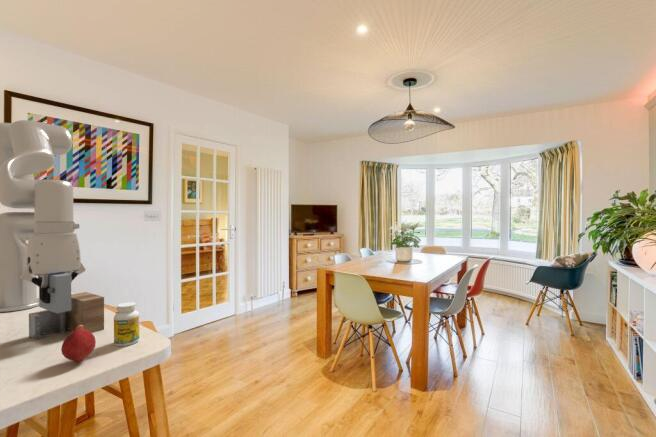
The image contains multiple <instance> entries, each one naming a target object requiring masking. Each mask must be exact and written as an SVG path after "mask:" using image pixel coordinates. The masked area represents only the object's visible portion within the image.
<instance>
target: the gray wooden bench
mask: <svg viewBox="0 0 656 437" xmlns="http://www.w3.org/2000/svg"><path fill="white" fill-rule="evenodd" d="M66 330H68V329H67V311H66V312H61V313H54V312H51V311H49V310H46V309H44V310H41V311H35V312H32V313H28V337H29V338H31V339H32V340H35V341H37V340H40V339H41V336H42V335H45V334H49V333H53V332H57V333H59V334H63V333H66Z"/></svg>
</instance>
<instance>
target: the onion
mask: <svg viewBox="0 0 656 437" xmlns="http://www.w3.org/2000/svg"><path fill="white" fill-rule="evenodd" d="M96 343H97V342H96V337H95V335H94V333H91V332H89V331H87V330H85V329H83V325H79V326H78V327H77V328H76V329H75V330H74V331H71V332H70V333H68V335H67V336H65V338H64V340H63V342H62V345H61V349H60V350H61V354H62V356H63V357H64V358H66V359H67V360H70V361H72V362H76V363H82V362H83V361H84V360H85V359H86V358H87V357H89V355H91V354H92V352H93V351H94V350H95V348H96Z"/></svg>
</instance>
